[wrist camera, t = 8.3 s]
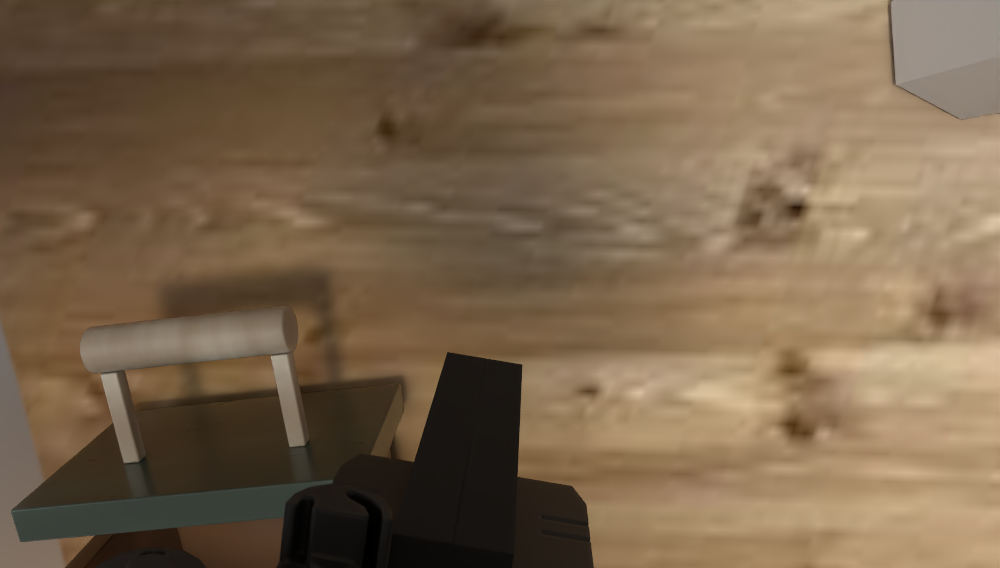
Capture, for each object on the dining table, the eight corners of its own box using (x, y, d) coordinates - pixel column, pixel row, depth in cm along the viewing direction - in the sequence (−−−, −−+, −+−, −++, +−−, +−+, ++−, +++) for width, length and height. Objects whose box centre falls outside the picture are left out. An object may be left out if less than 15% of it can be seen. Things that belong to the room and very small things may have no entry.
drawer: (95, 295, 33) (-35, 366, 26) (380, 263, 32) (332, 325, 25) (196, 685, 38) (111, 842, 30) (447, 665, 37) (425, 822, 29)
